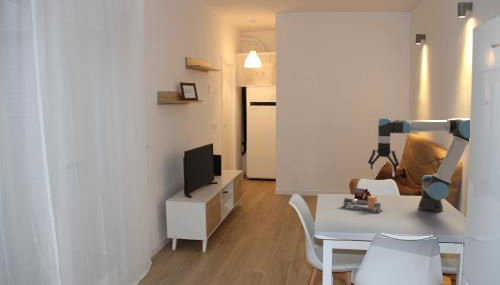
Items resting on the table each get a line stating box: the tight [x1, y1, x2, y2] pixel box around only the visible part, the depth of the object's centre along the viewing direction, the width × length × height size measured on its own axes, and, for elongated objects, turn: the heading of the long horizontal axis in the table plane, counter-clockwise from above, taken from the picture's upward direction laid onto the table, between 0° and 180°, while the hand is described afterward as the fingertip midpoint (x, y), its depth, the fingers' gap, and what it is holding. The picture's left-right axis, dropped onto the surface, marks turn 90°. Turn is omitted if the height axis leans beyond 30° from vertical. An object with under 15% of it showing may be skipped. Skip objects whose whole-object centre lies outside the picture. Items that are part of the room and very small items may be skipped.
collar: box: [367, 195, 378, 209], centre depth 287 cm, size 4×6×7 cm
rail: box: [340, 197, 384, 215], centre depth 291 cm, size 26×8×6 cm, turn 55°
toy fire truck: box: [353, 187, 372, 201], centre depth 309 cm, size 7×12×10 cm, turn 63°
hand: (383, 175), depth 281 cm, fingers open, 12 cm apart
